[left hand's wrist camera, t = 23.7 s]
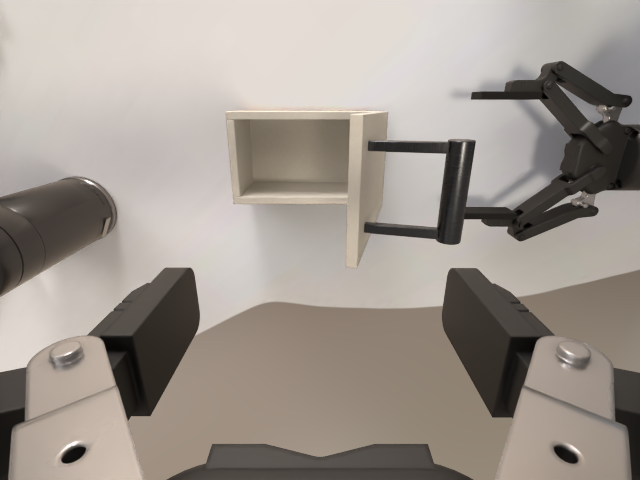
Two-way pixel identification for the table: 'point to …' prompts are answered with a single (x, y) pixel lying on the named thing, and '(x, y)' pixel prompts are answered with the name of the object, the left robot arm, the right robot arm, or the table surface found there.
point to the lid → (369, 180)
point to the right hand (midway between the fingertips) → (466, 157)
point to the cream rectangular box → (289, 156)
